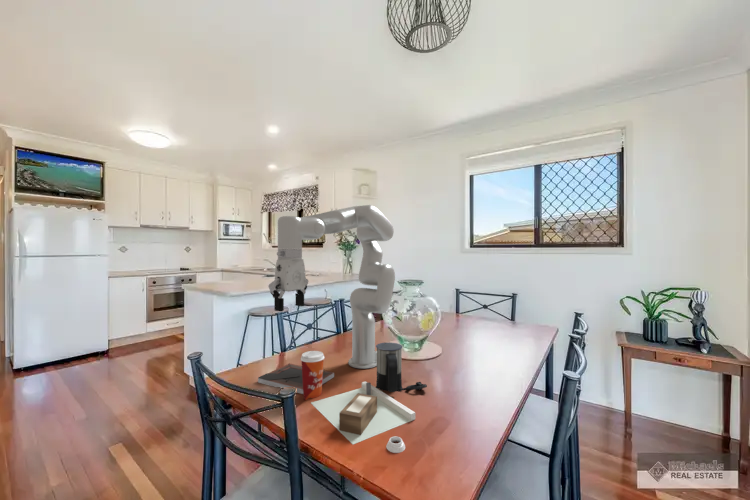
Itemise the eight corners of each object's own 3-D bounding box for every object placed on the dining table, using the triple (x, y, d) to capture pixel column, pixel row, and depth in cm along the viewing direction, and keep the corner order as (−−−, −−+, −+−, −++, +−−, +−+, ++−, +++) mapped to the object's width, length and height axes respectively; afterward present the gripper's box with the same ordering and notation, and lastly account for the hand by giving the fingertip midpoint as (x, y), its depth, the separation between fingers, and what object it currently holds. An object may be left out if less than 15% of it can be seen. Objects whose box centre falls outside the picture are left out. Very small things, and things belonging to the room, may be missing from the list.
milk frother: (371, 385, 111) (371, 343, 111) (410, 378, 117) (410, 338, 117) (388, 403, 98) (389, 356, 98) (431, 394, 104) (432, 349, 104)
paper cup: (313, 405, 97) (313, 359, 97) (295, 399, 101) (295, 355, 101) (329, 395, 103) (329, 352, 103) (312, 389, 107) (312, 348, 107)
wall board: (365, 390, 107) (365, 374, 107) (415, 423, 87) (415, 404, 87) (310, 406, 96) (310, 389, 96) (352, 449, 75) (352, 427, 75)
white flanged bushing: (389, 444, 78) (382, 456, 73) (389, 432, 78) (382, 443, 73) (408, 448, 76) (403, 461, 71) (408, 436, 76) (403, 448, 71)
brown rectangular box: (357, 408, 92) (357, 392, 92) (377, 412, 90) (377, 395, 90) (339, 430, 81) (339, 412, 81) (360, 435, 79) (361, 416, 79)
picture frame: (257, 384, 113) (306, 396, 104) (257, 377, 113) (306, 389, 104) (289, 368, 128) (334, 378, 118) (289, 362, 128) (334, 372, 118)
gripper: (279, 255, 92) (279, 314, 92) (315, 254, 107) (315, 304, 107) (260, 255, 95) (260, 312, 95) (298, 254, 111) (298, 303, 111)
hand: (289, 308), depth 101 cm, fingers open, 9 cm apart
